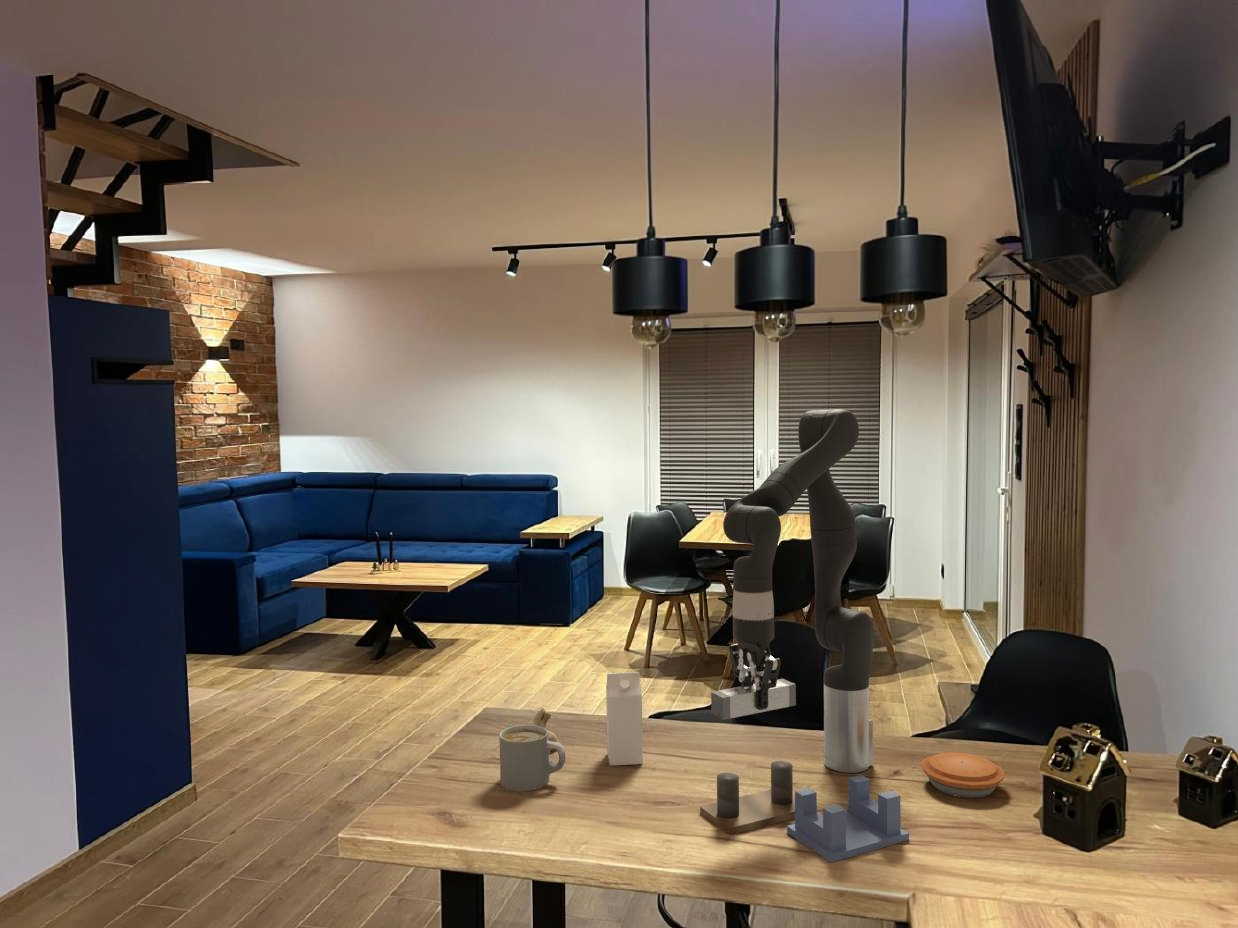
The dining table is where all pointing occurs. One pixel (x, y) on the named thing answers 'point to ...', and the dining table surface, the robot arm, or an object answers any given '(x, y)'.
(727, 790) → the stand
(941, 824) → the dining table surface
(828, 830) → the notched cradle
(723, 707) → the steel bar
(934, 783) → the pie
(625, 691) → the milk carton
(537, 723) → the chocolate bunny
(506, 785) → the coffee mug
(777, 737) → the dining table surface
